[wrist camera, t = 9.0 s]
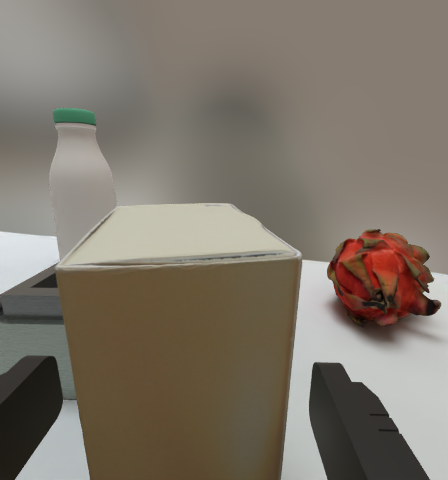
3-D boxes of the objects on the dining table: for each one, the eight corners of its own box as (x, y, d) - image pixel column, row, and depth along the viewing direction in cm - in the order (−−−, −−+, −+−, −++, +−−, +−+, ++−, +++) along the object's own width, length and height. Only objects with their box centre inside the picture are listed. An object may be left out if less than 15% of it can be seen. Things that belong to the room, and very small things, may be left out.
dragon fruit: (377, 299, 33) (376, 378, 23) (319, 252, 34) (294, 309, 24) (443, 252, 28) (478, 327, 18) (373, 199, 29) (370, 243, 19)
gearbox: (-26, 396, 17) (-53, 298, 15) (79, 302, 28) (71, 241, 27) (239, 403, 16) (241, 303, 15) (236, 305, 28) (237, 242, 26)
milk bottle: (132, 265, 39) (118, 111, 34) (72, 280, 34) (46, 100, 29) (108, 253, 44) (94, 118, 39) (54, 265, 39) (29, 110, 34)
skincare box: (140, 459, 13) (115, 202, 10) (229, 442, 14) (231, 200, 11) (116, 707, 7) (35, 258, 4) (275, 653, 8) (311, 244, 5)
